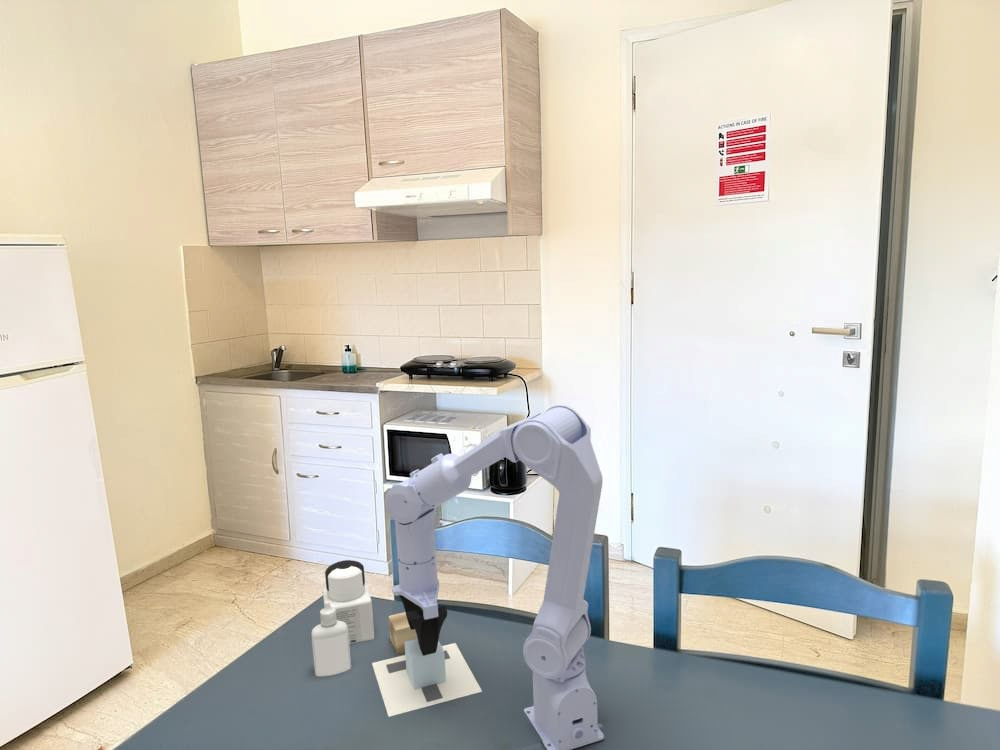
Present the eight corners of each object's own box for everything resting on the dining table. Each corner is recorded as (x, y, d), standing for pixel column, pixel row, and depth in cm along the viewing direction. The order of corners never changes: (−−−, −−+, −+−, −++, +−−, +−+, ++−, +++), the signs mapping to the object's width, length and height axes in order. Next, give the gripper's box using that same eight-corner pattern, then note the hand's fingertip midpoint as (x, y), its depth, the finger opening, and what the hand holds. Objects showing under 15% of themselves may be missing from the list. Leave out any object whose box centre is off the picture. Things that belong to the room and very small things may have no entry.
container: (326, 628, 119) (320, 560, 117) (369, 619, 121) (364, 552, 119) (328, 651, 112) (322, 579, 110) (374, 642, 114) (369, 571, 112)
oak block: (427, 650, 111) (425, 623, 110) (397, 658, 109) (395, 630, 108) (418, 635, 116) (417, 609, 115) (390, 643, 114) (388, 616, 113)
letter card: (482, 695, 99) (482, 691, 99) (388, 720, 94) (388, 716, 94) (455, 646, 112) (455, 642, 112) (372, 666, 107) (371, 662, 107)
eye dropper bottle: (344, 682, 103) (338, 610, 101) (310, 679, 104) (303, 608, 102) (355, 665, 108) (349, 596, 106) (322, 662, 109) (316, 594, 107)
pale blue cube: (446, 681, 102) (444, 650, 101) (414, 689, 100) (411, 659, 99) (437, 663, 106) (435, 634, 105) (406, 671, 104) (404, 641, 104)
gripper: (381, 543, 105) (387, 622, 107) (400, 582, 92) (407, 672, 94) (425, 535, 107) (430, 613, 110) (450, 572, 94) (455, 660, 96)
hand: (422, 639), depth 102 cm, fingers open, 7 cm apart
